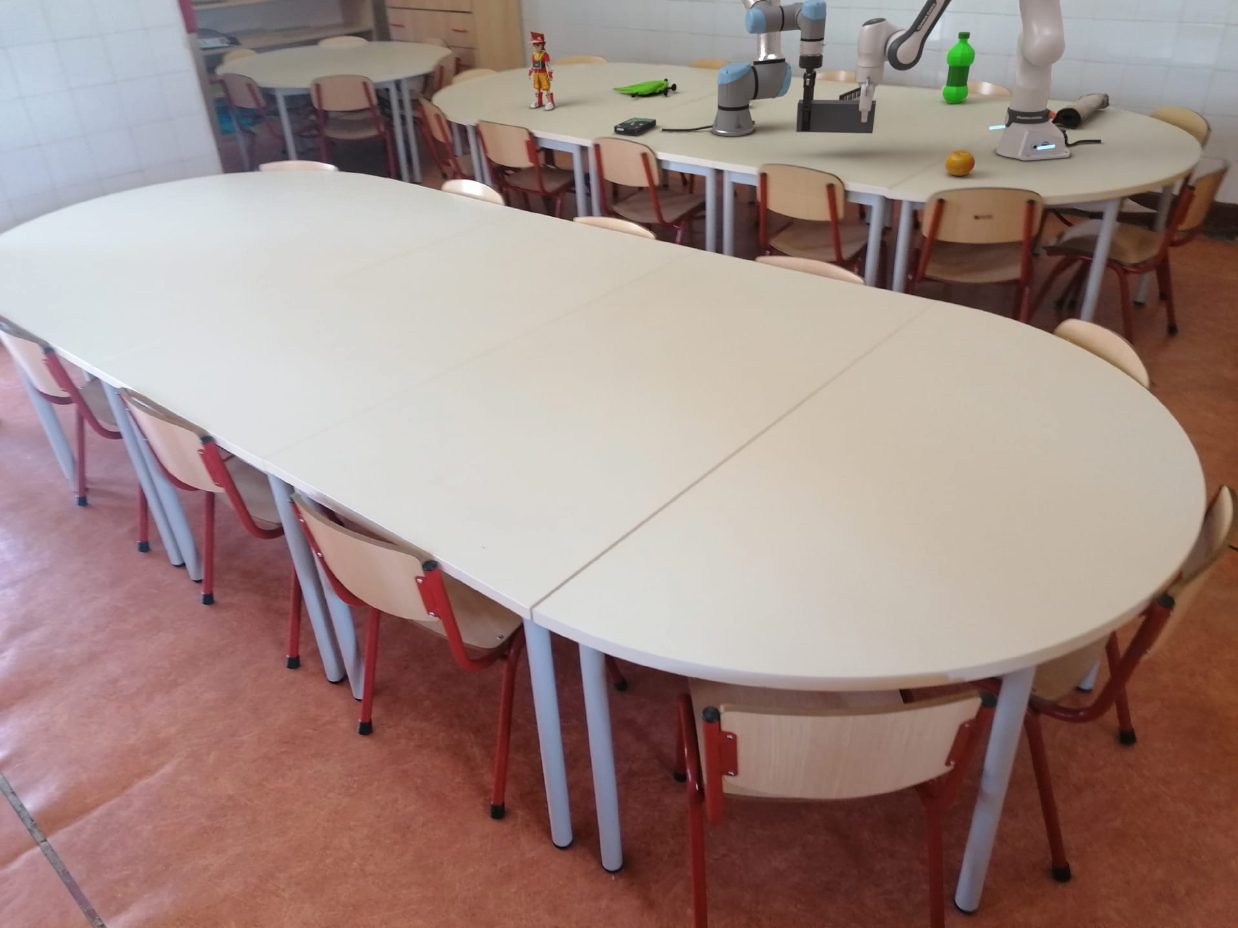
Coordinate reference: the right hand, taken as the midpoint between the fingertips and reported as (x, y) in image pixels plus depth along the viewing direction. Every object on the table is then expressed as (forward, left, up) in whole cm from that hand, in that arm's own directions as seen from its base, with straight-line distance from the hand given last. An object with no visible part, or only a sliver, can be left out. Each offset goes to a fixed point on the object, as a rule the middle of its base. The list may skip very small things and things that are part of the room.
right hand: (864, 119), depth 296 cm
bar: (+9, -1, -4) cm, 10 cm away
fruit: (-28, +22, -12) cm, 37 cm away
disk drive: (+81, -39, -12) cm, 91 cm away
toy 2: (+85, -103, -12) cm, 134 cm away
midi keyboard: (-3, -71, -12) cm, 72 cm away
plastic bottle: (-43, -70, -12) cm, 83 cm away
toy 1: (+125, -79, -12) cm, 148 cm away
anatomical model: (+42, -74, -12) cm, 86 cm away
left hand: (+19, -3, -3) cm, 19 cm away
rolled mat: (-82, -41, -12) cm, 93 cm away
